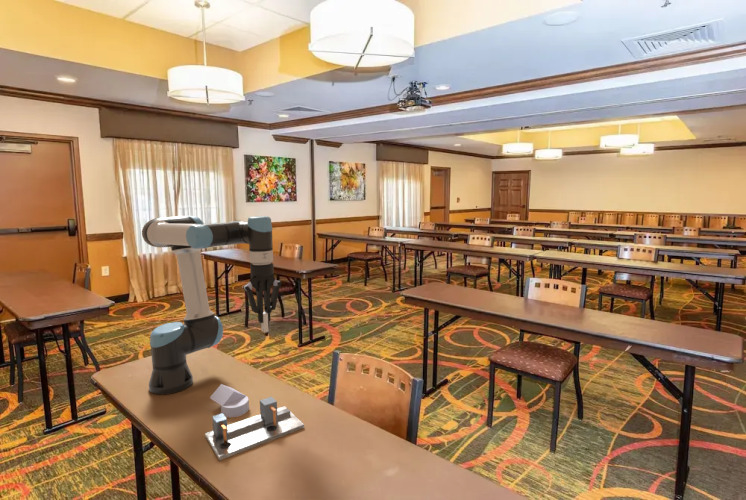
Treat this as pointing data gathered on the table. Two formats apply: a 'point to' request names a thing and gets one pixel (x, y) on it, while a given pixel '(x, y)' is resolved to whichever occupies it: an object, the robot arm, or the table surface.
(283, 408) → the bolt plate
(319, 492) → the table surface
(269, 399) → the slider
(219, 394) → the wedge on round base
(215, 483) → the table surface
